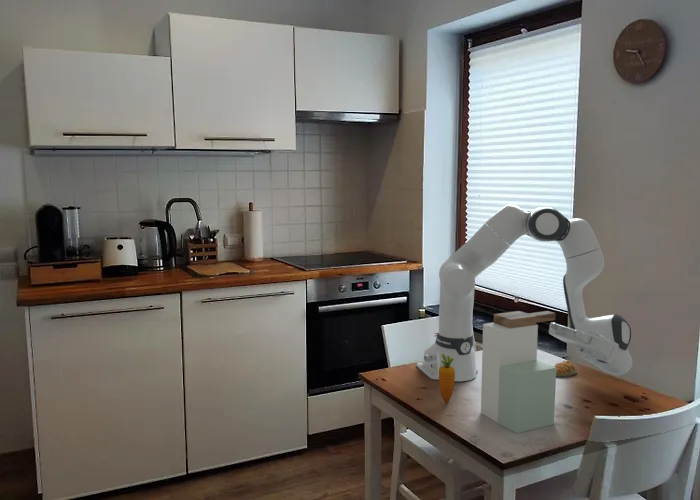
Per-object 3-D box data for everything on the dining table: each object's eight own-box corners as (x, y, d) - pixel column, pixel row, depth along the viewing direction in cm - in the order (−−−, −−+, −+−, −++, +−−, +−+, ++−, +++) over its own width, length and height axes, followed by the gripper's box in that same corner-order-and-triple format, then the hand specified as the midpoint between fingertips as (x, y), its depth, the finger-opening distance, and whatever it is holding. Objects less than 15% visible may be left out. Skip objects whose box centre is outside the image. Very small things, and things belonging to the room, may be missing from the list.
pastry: (564, 379, 198) (564, 368, 198) (545, 375, 203) (545, 364, 203) (578, 373, 205) (578, 362, 204) (559, 368, 210) (560, 358, 209)
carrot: (457, 405, 176) (458, 356, 174) (442, 407, 175) (443, 358, 173) (450, 399, 181) (451, 351, 179) (434, 401, 179) (435, 353, 177)
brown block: (493, 322, 169) (493, 314, 168) (542, 316, 176) (543, 307, 176) (510, 328, 163) (510, 319, 162) (560, 321, 170) (560, 312, 170)
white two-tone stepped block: (480, 412, 171) (483, 324, 168) (516, 405, 176) (519, 319, 173) (516, 433, 157) (519, 337, 154) (553, 424, 163) (557, 331, 160)
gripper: (570, 329, 191) (542, 311, 186) (623, 346, 173) (595, 327, 167) (562, 346, 191) (534, 329, 185) (614, 365, 173) (585, 347, 167)
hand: (563, 328), depth 176 cm, fingers open, 8 cm apart
